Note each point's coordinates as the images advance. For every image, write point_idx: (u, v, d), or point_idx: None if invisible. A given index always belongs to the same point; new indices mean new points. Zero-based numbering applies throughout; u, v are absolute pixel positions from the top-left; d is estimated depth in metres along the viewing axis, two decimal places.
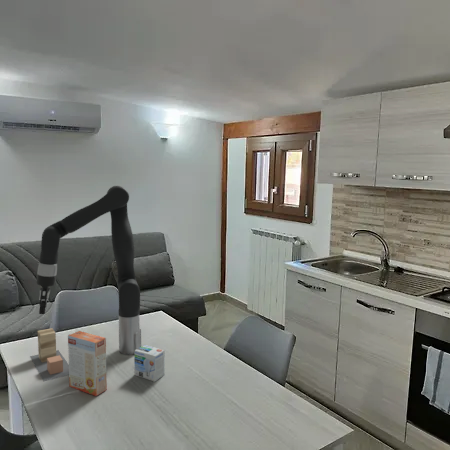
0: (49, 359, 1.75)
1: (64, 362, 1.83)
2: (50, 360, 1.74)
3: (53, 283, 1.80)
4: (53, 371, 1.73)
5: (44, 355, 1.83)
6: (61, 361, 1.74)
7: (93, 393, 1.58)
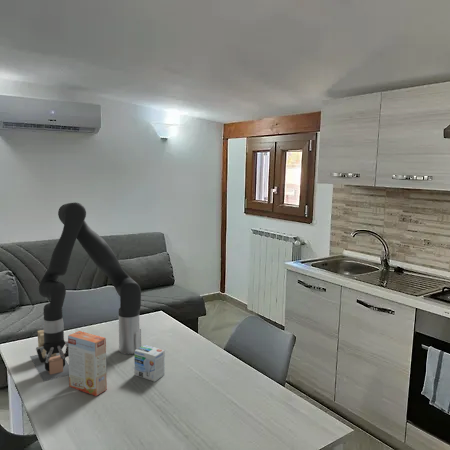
0: (49, 359, 1.75)
1: None
2: (50, 360, 1.74)
3: None
4: (53, 371, 1.73)
5: (44, 355, 1.83)
6: (61, 361, 1.74)
7: (93, 393, 1.58)
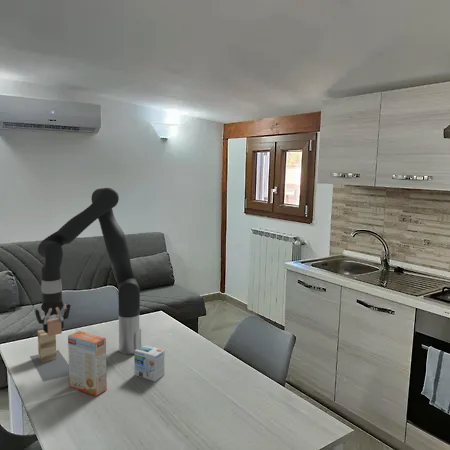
0: (47, 321, 1.73)
1: (64, 362, 1.83)
2: (48, 321, 1.73)
3: None
4: (51, 332, 1.71)
5: (44, 355, 1.83)
6: (59, 323, 1.73)
7: (93, 393, 1.58)
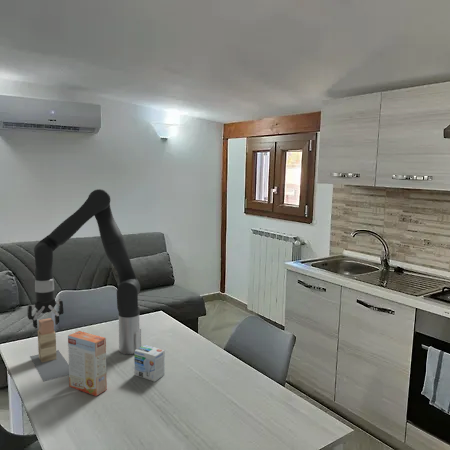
0: (41, 321, 1.84)
1: (64, 362, 1.83)
2: (42, 321, 1.83)
3: None
4: (44, 331, 1.82)
5: (44, 355, 1.83)
6: (52, 322, 1.84)
7: (93, 393, 1.58)
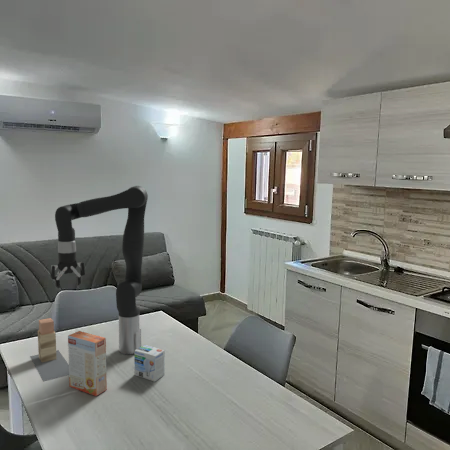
0: (41, 321, 1.84)
1: (64, 362, 1.83)
2: (42, 321, 1.83)
3: None
4: (44, 331, 1.82)
5: (44, 355, 1.83)
6: (52, 322, 1.84)
7: (93, 393, 1.58)
